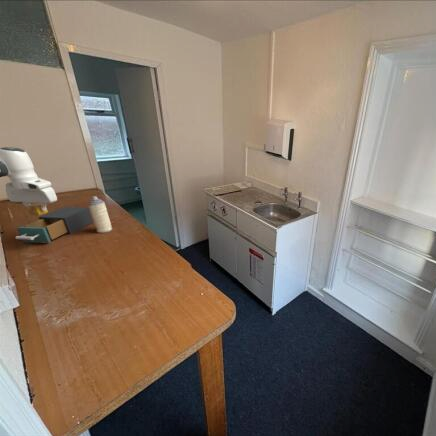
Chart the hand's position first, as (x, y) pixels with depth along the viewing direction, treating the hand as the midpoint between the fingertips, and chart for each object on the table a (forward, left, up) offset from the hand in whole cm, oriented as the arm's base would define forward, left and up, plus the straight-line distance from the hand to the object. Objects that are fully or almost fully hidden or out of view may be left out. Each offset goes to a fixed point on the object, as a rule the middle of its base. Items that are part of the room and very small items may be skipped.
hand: (38, 210), depth 115 cm
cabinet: (0, +13, -15) cm, 20 cm away
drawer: (0, -1, -14) cm, 15 cm away
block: (0, 0, -2) cm, 2 cm away
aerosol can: (+21, +11, -16) cm, 28 cm away
